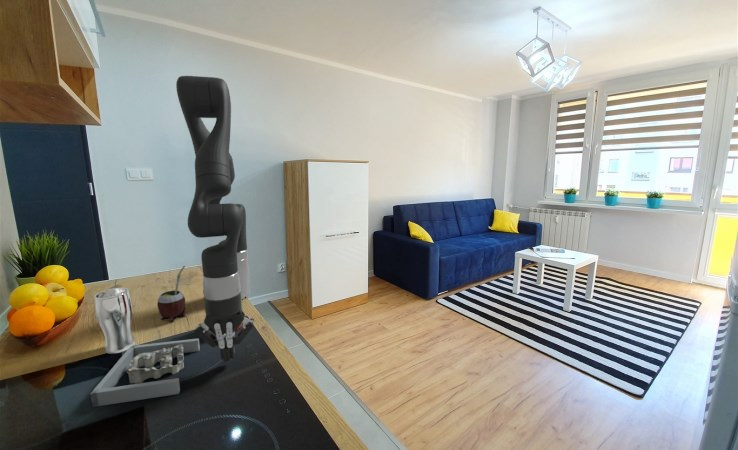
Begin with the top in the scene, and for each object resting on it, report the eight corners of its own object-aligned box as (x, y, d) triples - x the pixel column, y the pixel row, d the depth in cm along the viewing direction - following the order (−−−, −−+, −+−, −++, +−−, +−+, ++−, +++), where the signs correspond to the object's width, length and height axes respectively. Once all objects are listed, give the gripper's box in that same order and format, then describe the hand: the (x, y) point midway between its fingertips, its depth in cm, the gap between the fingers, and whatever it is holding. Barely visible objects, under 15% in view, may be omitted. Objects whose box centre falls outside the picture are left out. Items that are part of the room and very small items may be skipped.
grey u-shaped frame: (132, 357, 75) (130, 346, 74) (199, 348, 79) (198, 338, 78) (92, 406, 60) (90, 393, 59) (178, 393, 63) (177, 381, 63)
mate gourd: (157, 325, 89) (150, 277, 86) (162, 313, 96) (156, 268, 93) (186, 320, 92) (181, 274, 89) (189, 309, 99) (185, 265, 96)
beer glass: (114, 357, 74) (104, 301, 71) (96, 351, 77) (86, 296, 74) (143, 342, 81) (135, 289, 78) (126, 336, 83) (117, 285, 80)
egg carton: (126, 388, 65) (123, 372, 64) (133, 367, 71) (130, 352, 71) (184, 373, 70) (182, 357, 69) (186, 355, 76) (184, 340, 76)
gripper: (255, 282, 74) (259, 346, 77) (195, 287, 71) (202, 353, 74) (251, 296, 67) (256, 365, 70) (184, 301, 64) (192, 374, 67)
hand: (228, 359), depth 72 cm, fingers closed
